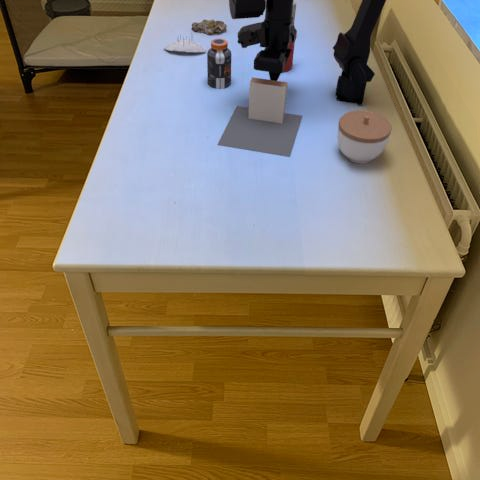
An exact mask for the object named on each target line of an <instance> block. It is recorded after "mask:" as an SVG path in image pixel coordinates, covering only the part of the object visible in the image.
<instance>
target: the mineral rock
mask: <svg viewBox="0 0 480 480" xmlns="http://www.w3.org/2000/svg"><path fill="white" fill-rule="evenodd" d="M227 27H228V26H227V24H226V23H225V22H224V21H221V20H215V19H210V20H207V19H203V20H202V21H201V22H192V24H191V31H194V32H195V33H198V34H204V35H207V36H219V35H220V34H223V33H225V32H226V31H227Z"/></svg>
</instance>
